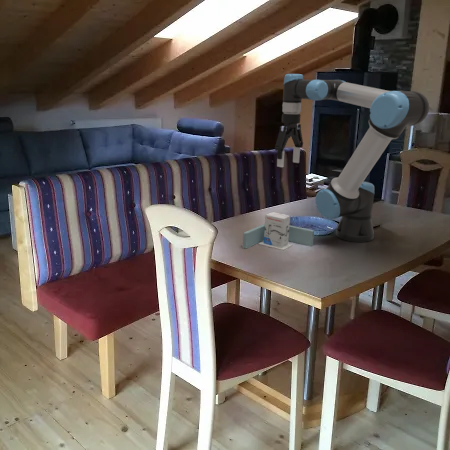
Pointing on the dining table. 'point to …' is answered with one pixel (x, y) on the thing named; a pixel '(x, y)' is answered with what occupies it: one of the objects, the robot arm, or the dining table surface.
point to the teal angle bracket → (295, 236)
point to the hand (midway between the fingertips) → (288, 164)
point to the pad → (275, 246)
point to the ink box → (276, 229)
